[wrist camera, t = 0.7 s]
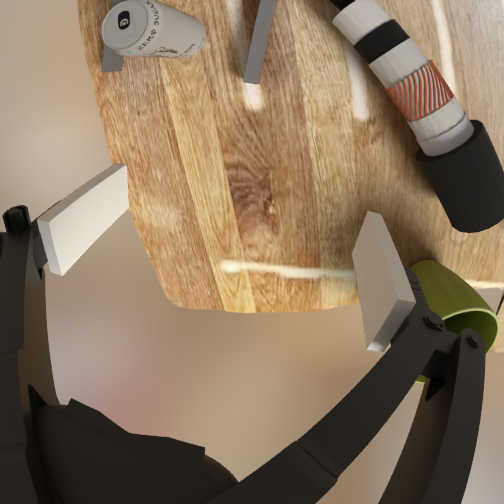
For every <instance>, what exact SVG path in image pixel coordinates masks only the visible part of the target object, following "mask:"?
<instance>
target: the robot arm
mask: <svg viewBox="0 0 504 504" xmlns="http://www.w3.org/2000/svg"><path fill="white" fill-rule="evenodd" d="M128 208H129V204H128V184H127V165H126V164H118V163H115V164H114V165H112V166H111V167H109V168H108V169H106V170H104V171H103V172H101V173H100V174H99V175H97V176H95V177H94V178H92V179H91V180H89V181H88V182H87V183H85V184H84V185H82V186H81V187H79V188H78V189H76V190H75V191H74V192H72V193H71V194H69V195H68V196H67V197H65V198H64V199H63V200H60V201H58V202H57V203H56V204H54V205H53V206H52V208H51V207H50V208H49V209H48V210H47V211H46V212H44V213H43V214H41V215H40V216H39V217H38V218H36V219H35V220H34V221H33V222H31V221H30V217H29V212H28V208H27V207H26V206H24V205H20V206H15V207H12V208H10V209H9V210H7V211H6V212H5V213H4V214H3V216H2V217H3V220H4V224H5V228H6V231H7V232H0V504H315V503H316V502H317V501H319V500H320V499H321V498H322V497H323V496H324V495H325V494H326V493H327V492H328V491H329V490H330V489H331V488H332V487H333V486H334V485H335V483H336V482H337V480H338V477H339V476H340V474H341V473H342V472H343V471H344V470H345V469H346V468H347V467H348V466H349V465H350V464H351V463H352V461H354V459H355V458H356V457H357V456H358V455H359V454H360V452H362V451H363V449H364V448H365V447H366V446H367V445H368V444H369V442H370V441H371V440H372V439H373V437H374V436H375V435H376V434H377V433H378V432H379V430H380V429H381V428H382V427H383V425H384V424H385V423H386V422H387V420H388V419H389V418H390V416H391V415H392V414H393V412H394V411H395V410H396V408H397V407H398V406H399V404H400V402H401V401H402V400H403V399H404V397H405V396H406V394H407V393H408V391H409V390H410V388H411V387H412V386H413V384H414V382H415V381H416V380H417V378H418V376H419V375H422V376H424V377H426V380H425V384H424V387H423V391H422V395H421V398H420V401H419V404H418V408H417V411H416V414H415V417H414V420H413V423H412V426H411V429H410V432H409V434H408V437H407V440H406V443H405V445H404V448H403V450H402V453H401V455H400V458H399V460H398V462H397V465H396V467H395V469H394V472H393V474H392V476H391V478H390V481H389V483H388V485H387V487H386V489H385V491H384V493H383V495H382V497H381V499H380V501H379V503H378V504H461V502H462V499H463V495H464V492H465V489H466V485H467V481H468V478H469V474H470V470H471V465H472V461H473V457H474V453H475V448H476V442H477V437H478V431H479V425H480V418H481V410H482V401H483V391H484V377H485V350H486V347H485V342H484V340H483V338H482V336H481V335H480V334H479V333H478V332H476V331H475V330H473V329H470V328H465V329H464V330H462V332H461V333H460V334H459V335H457V334H454V333H452V332H450V331H448V330H446V327H445V323H444V321H443V320H442V318H441V317H440V316H439V315H438V314H436V313H435V312H433V311H431V310H430V309H429V306H428V304H427V301H426V298H425V296H424V293H423V291H422V288H421V285H419V281H418V278H417V276H416V274H415V273H414V272H413V271H412V269H411V268H410V267H406V266H403V265H402V263H401V260H400V258H399V255H398V253H397V250H396V248H395V245H394V243H393V241H392V238H391V236H390V234H389V231H388V229H387V227H386V224H385V222H384V220H383V218H382V216H381V214H378V213H375V212H371V211H367V214H366V217H365V219H364V222H363V225H362V228H361V230H360V233H359V236H358V238H357V241H356V244H355V246H354V249H353V252H352V259H353V264H354V269H355V275H356V280H357V286H358V292H359V298H360V304H361V311H362V317H363V325H364V332H365V339H366V348H367V349H368V350H375V351H384V350H385V349H386V347H387V346H388V345H389V343H391V347H390V348H389V350H388V351H387V352H386V353H385V354H384V355H383V357H382V358H381V359H380V360H379V361H378V362H377V363H376V364H375V366H374V367H373V368H372V369H371V370H370V371H369V372H368V373H367V374H366V375H365V376H364V378H363V379H362V380H361V381H360V382H359V383H358V384H357V385H356V386H355V387H354V388H353V389H352V390H351V391H350V392H349V393H348V394H347V395H346V396H345V397H344V398H343V399H342V400H341V401H340V402H339V403H338V404H337V405H336V406H335V407H334V408H333V409H332V410H331V411H330V412H329V413H328V414H327V415H326V416H324V417H323V418H322V419H321V420H320V421H319V422H318V423H317V424H316V425H314V426H313V427H312V428H311V429H310V430H309V431H308V432H307V433H305V434H304V435H303V436H302V437H301V438H299V439H298V440H297V441H295V442H293V443H292V444H290V445H289V446H288V447H286V448H285V449H284V450H282V451H281V452H280V453H278V454H277V455H276V456H275V457H273V458H272V459H271V460H270V461H268V462H267V463H265V464H264V465H263V466H261V467H260V468H259V469H257V470H256V471H254V472H253V473H252V474H250V475H249V476H247V477H246V478H244V480H242V481H240V482H238V481H237V479H236V478H235V477H234V476H233V474H231V472H230V471H229V470H228V469H226V468H225V467H224V466H223V465H221V464H220V463H219V462H217V461H216V460H214V459H213V458H210V457H209V456H207V455H205V447H201V446H197V445H194V444H190V443H186V442H183V441H179V440H176V439H173V438H169V437H159V436H149V435H140V434H132V433H128V432H127V431H125V430H124V429H122V428H121V427H120V426H118V425H117V424H115V423H114V422H113V421H111V420H110V419H109V418H107V417H106V416H105V415H103V414H102V413H101V412H100V411H97V410H95V409H93V408H91V407H89V406H87V405H84V404H82V403H80V402H78V401H76V400H74V399H72V398H71V400H70V401H69V404H68V405H60V403H59V400H58V398H57V395H56V391H55V386H54V380H53V374H52V367H51V360H50V352H49V343H48V333H47V320H46V300H45V271H44V268H43V266H44V264H46V263H47V262H48V264H49V267H50V271H51V272H52V273H55V274H58V275H61V276H63V275H64V274H65V273H66V272H67V271H68V269H69V268H70V267H71V266H72V265H73V264H74V263H75V262H76V261H77V259H78V258H79V257H80V256H81V255H82V254H83V253H84V252H85V251H86V250H87V249H88V248H89V247H90V246H91V245H92V244H93V243H94V242H95V241H96V240H97V239H98V238H99V237H100V235H101V234H103V233H104V232H105V230H107V229H108V228H109V227H110V226H111V225H112V224H113V223H114V222H115V221H116V220H117V219H118V218H119V217H120V216H121V215H122V214H123V213H124V212H125V211H126V210H127V209H128Z"/></svg>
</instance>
